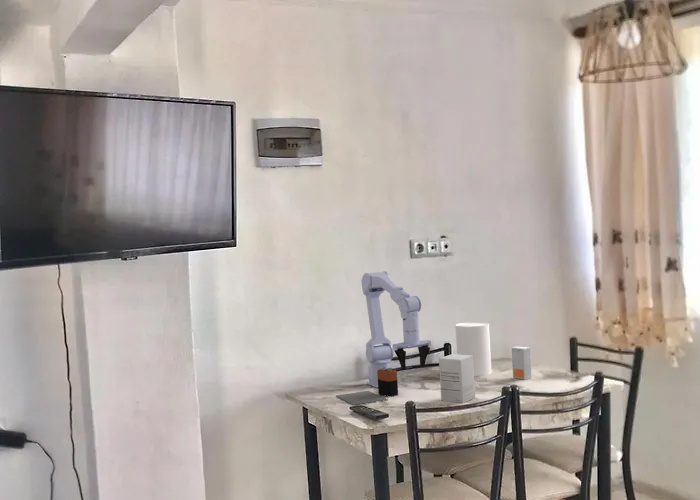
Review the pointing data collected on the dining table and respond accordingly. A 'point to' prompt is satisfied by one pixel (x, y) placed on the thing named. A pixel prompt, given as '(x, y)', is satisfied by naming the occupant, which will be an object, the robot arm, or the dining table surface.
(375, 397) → the mat
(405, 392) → the dining table surface
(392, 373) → the battery
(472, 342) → the canister
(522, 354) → the skincare box
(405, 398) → the dining table surface
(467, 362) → the supplement box
